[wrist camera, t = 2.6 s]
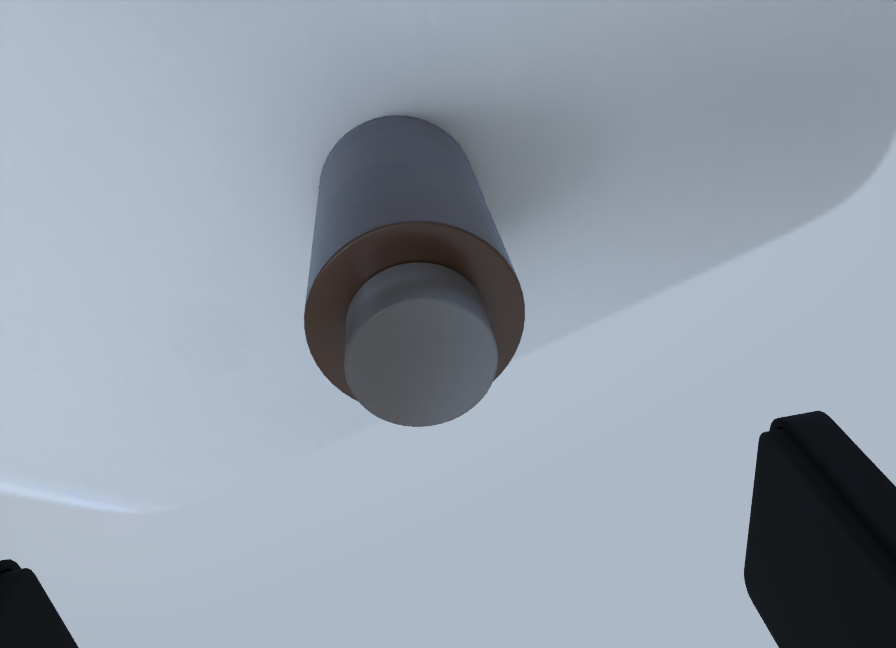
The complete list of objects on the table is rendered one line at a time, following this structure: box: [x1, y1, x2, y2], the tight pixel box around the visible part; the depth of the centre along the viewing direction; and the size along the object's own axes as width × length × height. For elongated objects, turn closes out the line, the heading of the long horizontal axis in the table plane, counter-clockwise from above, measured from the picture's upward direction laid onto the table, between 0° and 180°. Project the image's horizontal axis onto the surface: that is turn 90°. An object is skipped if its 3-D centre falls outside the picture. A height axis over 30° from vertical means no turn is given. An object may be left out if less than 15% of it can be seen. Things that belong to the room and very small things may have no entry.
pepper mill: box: [304, 116, 525, 427], centre depth 17 cm, size 4×4×9 cm
